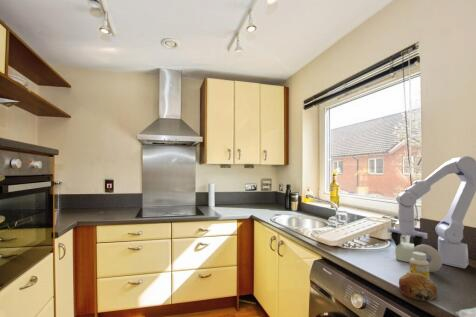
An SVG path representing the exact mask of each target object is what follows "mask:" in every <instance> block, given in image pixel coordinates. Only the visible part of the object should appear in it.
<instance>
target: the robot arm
mask: <svg viewBox="0 0 476 317" xmlns="http://www.w3.org/2000/svg"><path fill="white" fill-rule="evenodd" d="M450 174H456V176H457V177H458V178H459V179H460V181H461V182H460V184H459V186H458V188H457V190H456V192H455V195H454V198H453V200H452V202H451V204H450V207H449V210H448V211H447V213H446V216H444V217H443V218H442V219H441V220H440V222H439V223H437V225H436V226H435V229H434V230H435V233H436V235H437V236H438V238H437V252H438V253H439V254H440V256H441V258H442V265H447V266H452V267H456V268H461V269H466V268H467V267H468V266H469V249H468V247H469V246H468V244H467V243H463V242H461V241H462V240H463V239H464V229H465V225H464V223H463V221H464V219H465V217H466V215H467V212H468V210H469V207H470V205H471V204H472V201H473V198H474V196H475V194H476V159H475V158H474V157H472V156H468V155H467V156H459V157H458V156H456V157H452V158H450V159H449V160H447V161H445V162H444V163H443V164H441V165H440V166H439V167H438V168H437V169H435V170H434V171H433V172H432V173H430V174H429V175H428V176H427V177H426V178H425V179H422V180H421V179H419V180H414V181H413V182H412V183H413V184H412V185H410V186H409V187H408V188H405V189H404V190H403V191H402V192H400V193H398V195H397V196H396V198H395V199H396V202H397V203H398V211H397V212H398V221H399V228H392V227H387V233H391V234H390V236H391V238H392V240H393V241H394V245H395V246H397V245H398V244H400V238H401V234H403V235H409V236H410V237H413V238H412V240H413V244H414V247H416V246H417V245H421V244H422V241H423V239H425V240H427V239H428V237H429V236H428V233H427V232H422V231H418V230H415V228H416V227H415V208H414V207H415V205H416V203H417V201H418V200H420V199H421V198H422V197H423V196H424V195H426V194H427V193H428V192H430V191H431V186H433V185H435V183H437V182H439V181H440V180H442V179H443V178H444V177H446V176H447V175H450Z"/></svg>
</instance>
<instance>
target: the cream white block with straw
mask: <svg viewBox="0 0 476 317" xmlns="http://www.w3.org/2000/svg"><path fill="white" fill-rule="evenodd" d="M391 228H399V220H398V221H396V222H395V223H394V224H393V226H392V227H391ZM410 241H411V236H409V235H403V234H401V238H400V243H402V242H406V243H410Z"/></svg>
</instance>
